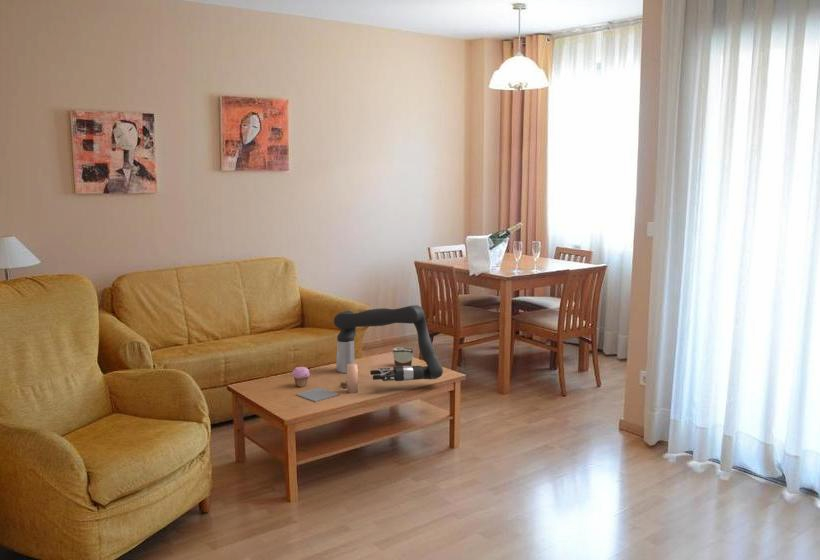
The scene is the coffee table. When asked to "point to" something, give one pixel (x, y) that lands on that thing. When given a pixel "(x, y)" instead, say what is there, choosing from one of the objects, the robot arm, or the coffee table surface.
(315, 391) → the charcoal mat
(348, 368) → the terracotta canister
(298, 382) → the cupcake
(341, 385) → the walnut block
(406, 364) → the food container
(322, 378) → the coffee table surface
